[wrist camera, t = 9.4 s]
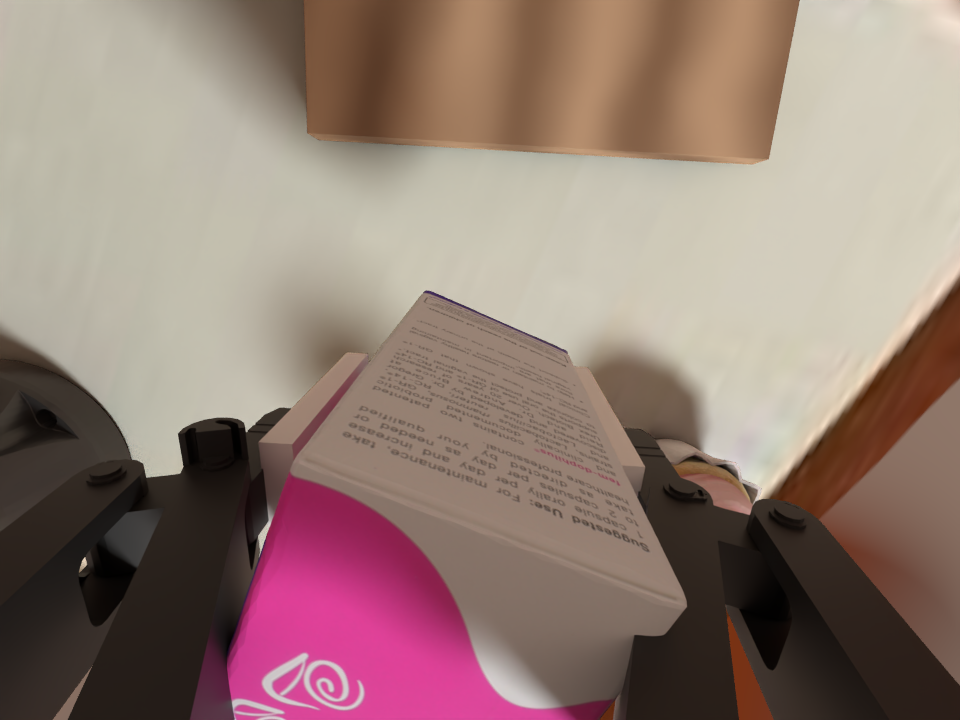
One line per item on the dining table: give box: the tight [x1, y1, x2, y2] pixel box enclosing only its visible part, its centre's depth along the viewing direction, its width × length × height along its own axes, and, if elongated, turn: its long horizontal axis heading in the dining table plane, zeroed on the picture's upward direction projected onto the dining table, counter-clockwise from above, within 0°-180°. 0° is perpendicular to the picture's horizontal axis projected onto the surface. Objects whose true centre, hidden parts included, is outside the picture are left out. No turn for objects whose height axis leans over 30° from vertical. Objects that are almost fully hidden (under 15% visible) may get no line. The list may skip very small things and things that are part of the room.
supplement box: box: [227, 291, 687, 720], centre depth 12 cm, size 6×6×12 cm
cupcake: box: [655, 439, 762, 515], centre depth 28 cm, size 9×9×10 cm
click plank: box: [304, 0, 800, 164], centre depth 24 cm, size 24×8×2 cm, turn 87°
